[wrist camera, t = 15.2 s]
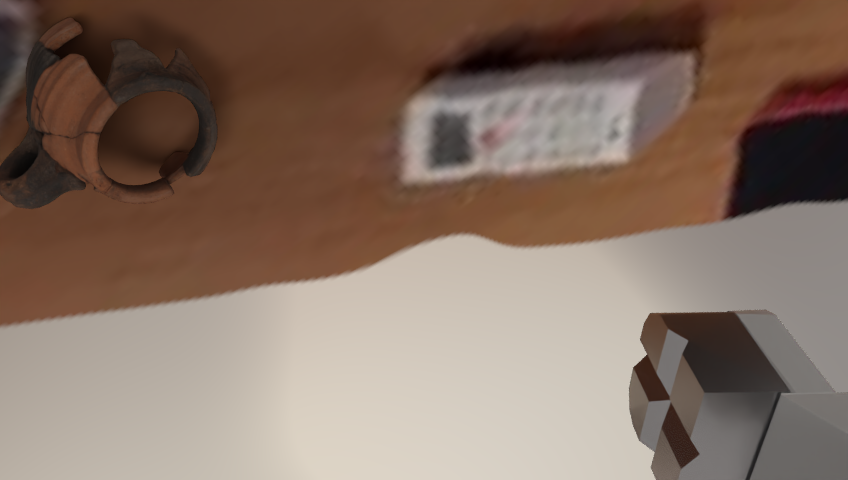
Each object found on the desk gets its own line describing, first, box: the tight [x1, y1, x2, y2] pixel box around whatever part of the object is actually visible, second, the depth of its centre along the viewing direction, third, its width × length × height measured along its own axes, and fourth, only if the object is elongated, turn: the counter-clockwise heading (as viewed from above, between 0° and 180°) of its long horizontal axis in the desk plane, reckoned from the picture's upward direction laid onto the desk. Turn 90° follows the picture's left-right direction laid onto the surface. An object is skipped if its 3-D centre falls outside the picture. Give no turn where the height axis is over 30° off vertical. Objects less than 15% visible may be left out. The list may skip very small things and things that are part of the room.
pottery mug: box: [0, 18, 217, 209], centre depth 44 cm, size 12×10×8 cm
